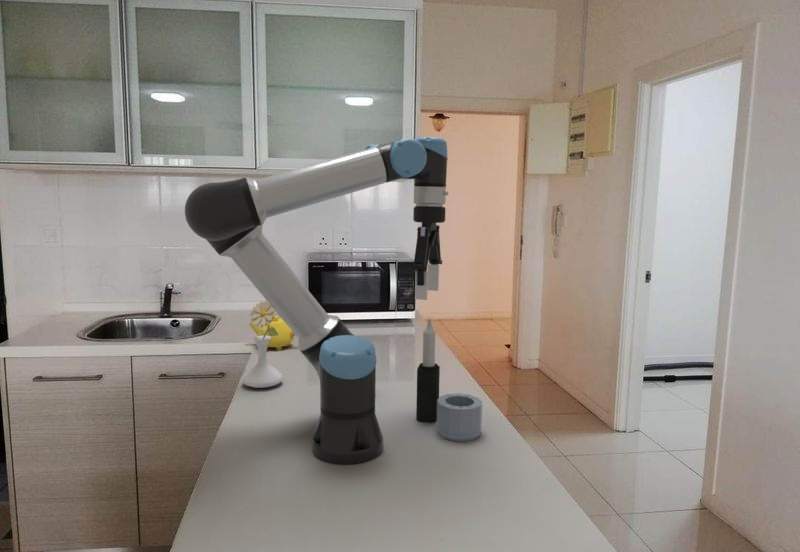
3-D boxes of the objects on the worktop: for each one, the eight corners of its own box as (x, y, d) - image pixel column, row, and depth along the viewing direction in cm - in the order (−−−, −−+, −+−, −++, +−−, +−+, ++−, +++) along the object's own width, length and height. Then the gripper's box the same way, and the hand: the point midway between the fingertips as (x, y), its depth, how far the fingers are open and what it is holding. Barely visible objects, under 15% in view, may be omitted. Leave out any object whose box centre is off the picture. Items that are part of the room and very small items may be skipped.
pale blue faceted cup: (476, 444, 124) (477, 411, 123) (432, 437, 127) (433, 406, 126) (483, 426, 133) (484, 396, 132) (442, 421, 136) (443, 391, 135)
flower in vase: (234, 384, 161) (232, 298, 157) (269, 375, 169) (268, 293, 165) (258, 395, 152) (256, 304, 148) (294, 386, 160) (293, 299, 156)
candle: (436, 422, 135) (438, 321, 132) (415, 420, 136) (417, 319, 133) (439, 414, 140) (441, 316, 137) (418, 413, 141) (420, 315, 138)
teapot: (237, 351, 195) (236, 319, 194) (261, 338, 212) (261, 309, 211) (290, 355, 191) (290, 323, 189) (311, 342, 208) (311, 313, 206)
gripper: (435, 206, 119) (432, 304, 122) (454, 205, 143) (451, 287, 146) (400, 205, 121) (398, 302, 124) (425, 204, 145) (423, 286, 148)
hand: (427, 294), depth 135 cm, fingers open, 13 cm apart
